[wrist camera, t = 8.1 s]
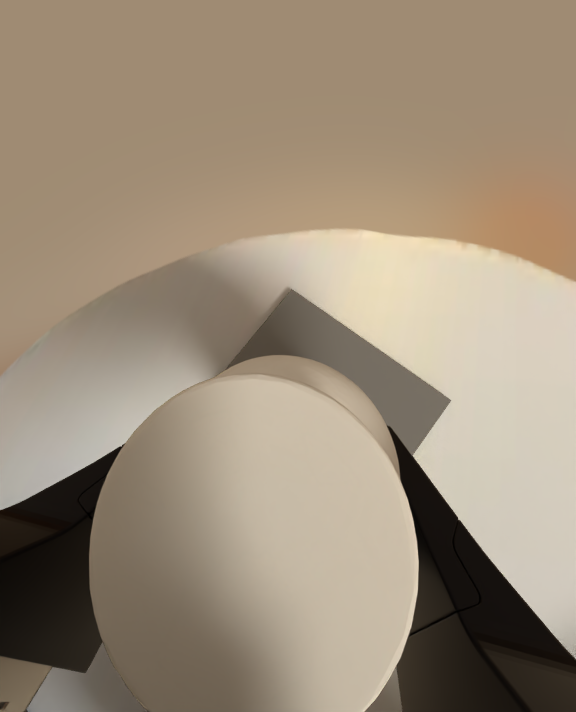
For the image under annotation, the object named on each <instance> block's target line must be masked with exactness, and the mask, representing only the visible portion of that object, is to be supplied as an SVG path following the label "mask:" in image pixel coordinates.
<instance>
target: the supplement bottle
mask: <svg viewBox="0 0 576 712" xmlns="http://www.w3.org/2000/svg"><path fill="white" fill-rule="evenodd" d="M418 569H419V560H418V549H417V539H416V533H415V528H414V522H413V517H412V513H411V510H410V506H409V502H408V499H407V496H406V494H405V491H404V489H403V486H402V483H401V480H400V470H399V462H398V458H397V454H396V449H395V446H394V443H393V440H392V437H391V435H390V432H389V430H388V428H387V425H386V423H385V422H384V420H383V418H382V416H381V414H380V413H379V411H378V410H377V408H376V407H375V406H374V404H373V403H372V401H371V400H370V399H369V398H368V396H367V395H366V394H365V393H364V392H363V391H362V390H361V389H360V388H359V387H358V386H357V385H356V384H355V383H353V382H352V381H351V380H350V379H348V378H347V377H346V376H344V375H343V374H341V373H340V372H338V371H336V370H334V369H333V368H331V367H329V366H327V365H325V364H322V363H320V362H317V361H314V360H311V359H307V358H302V357H298V356H289V355H270V356H263V357H257V358H253V359H249V360H246V361H243V362H241V363H238V364H236V365H234V366H232V367H230V368H228V369H227V370H225V371H223V372H222V373H220V374H219V375H217V376H216V377H214V378H212V379H209V380H206V381H204V382H201V383H198V384H196V385H194V386H192V387H190V388H188V389H186V390H183V391H182V392H180V393H179V394H177V395H175V396H174V397H172V398H171V399H169V400H168V401H166V402H165V403H164V404H163V405H161V406H160V407H159V408H157V409H156V410H155V411H154V412H153V413H152V414H151V415H150V416H149V417H148V418H147V419H146V420H145V421H144V422H143V423H142V424H141V425H140V426H139V427H138V428H137V429H136V430H135V431H134V433H133V434H132V435H131V436H130V438H129V439H128V441H127V442H126V443H125V445H124V446H123V448H122V449H121V450H120V452H119V454H118V456H117V457H116V459H115V461H114V463H113V465H112V467H111V469H110V471H109V472H108V474H107V477H106V480H105V482H104V485H103V487H102V489H101V492H100V495H99V498H98V502H97V506H96V510H95V514H94V518H93V524H92V530H91V536H90V551H89V578H90V593H91V598H92V604H93V609H94V615H95V618H96V622H97V625H98V629H99V632H100V636H101V639H102V641H103V643H104V646H105V648H106V651H107V653H108V656H109V658H110V660H111V662H112V664H113V666H114V668H115V669H116V670H117V672H118V673H119V674H120V676H121V678H122V679H123V681H124V682H125V684H126V686H127V687H128V688H129V690H130V691H131V692H132V694H133V695H134V696H135V698H136V699H137V700H138V701H139V703H140V704H141V705H142V706H143V707H144V708H145V709H146V710H147V711H148V712H364V711H365V710H366V709H367V708H368V707H369V706H370V705H371V704H372V703H373V702H374V701H375V699H376V698H377V697H378V695H379V694H380V692H381V691H382V689H383V687H384V686H385V684H386V683H387V681H388V680H389V678H390V676H391V674H392V672H393V671H394V669H395V667H396V665H397V663H398V662H399V660H400V658H401V655H402V652H403V649H404V646H405V644H406V641H407V638H408V635H409V632H410V629H411V626H412V621H413V615H414V610H415V604H416V598H417V592H418Z"/></svg>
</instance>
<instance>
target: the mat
mask: <svg viewBox="0 0 576 712" xmlns="http://www.w3.org/2000/svg"><path fill="white" fill-rule="evenodd" d="M270 355H289V356H298V357H302V358H307V359H311V360H314V361H317V362H320V363H322V364H325V365H327V366H329V367H331V368H333V369H334V370H336V371H338V372H340V373H341V374H343V375H344V376H346V377H347V378H348V379H350V380H351V381H352V382H353V383H355V384H356V385H357V386H358V387H359V388H360V389H361V390H362V391H363V392H364V393H365V394H366V395H367V396H368V398H369V399H370V400H371V401H372V403H373V404H374V406H375V407H376V408H377V410H378V411H379V413H380V414H381V416H382V418H383V420H384V422H385V423H386V425H388V426H390V427H391V428H392V429H393V430H394V432H395V433H396V434H397V436H398V437H399V438H400V440H401V441H402V442H403V444H404V445H405V447H406V448H407V449H408V451H409V452H410V453H411V455H413V454H414V453H415V451H416V450H417V448H418V447H419V445H420V444H421V443H422V441H423V440H424V438H425V437H426V435H427V434H428V433H429V431H430V430H431V428H432V427H433V426H434V424H435V423H436V421H437V420H438V418H439V417H440V416H441V414H442V413H443V411H444V410H445V408H446V407H447V406H448V404H449V403H450V401H451V400H450V399H449V398H447V397H446V396H444V395H443V394H441V393H440V392H438V391H437V390H436V389H434V388H433V387H431V386H430V385H428V384H427V383H426V382H424V381H423V380H421V379H420V378H418V377H417V376H416V375H414V374H413V373H411V372H410V371H408V370H407V369H405V368H404V367H403V366H401V365H400V364H398V363H397V362H395V361H394V360H393V359H391V358H390V357H388V356H387V355H385V354H384V353H383V352H381V351H380V350H378V349H377V348H375V347H374V346H372V345H371V344H370V343H368V342H367V341H365V340H364V339H362V338H361V337H360V336H358V335H357V334H355V333H354V332H352V331H351V330H350V329H348V328H347V327H345V326H344V325H342V324H341V323H339V322H338V321H337V320H335V319H334V318H332V317H331V316H329V315H328V314H327V313H325V312H324V311H322V310H321V309H319V308H318V307H317V306H315V305H314V304H312V303H311V302H309V301H308V300H306V299H305V298H304V297H302V296H301V295H299V294H298V293H296V292H295V291H294V290H291V291H290V292H289V293H288V294H287V296H286V297H285V298H284V299H283V301H282V302H281V303H280V304H279V305H278V307H277V308H276V309H275V310H274V311H273V313H272V314H271V315H270V316H269V318H268V319H267V320H266V321H265V322H264V324H263V325H262V326H261V327H260V328H259V330H258V331H257V332H256V333H255V335H254V336H253V337H252V338H251V339H250V341H249V342H248V343H247V344H246V345H245V347H244V348H243V349H242V350H241V352H240V353H239V354H238V355H237V356H236V358H235V359H234V360H233V361H232V362H231V364H230V365H229V366H228V367H227V369H228V368H230V367H232V366H234V365H236V364H238V363H241V362H243V361H246V360H249V359H253V358H257V357H263V356H270ZM227 369H226V370H227Z"/></svg>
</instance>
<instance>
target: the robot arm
mask: <svg viewBox="0 0 576 712" xmlns="http://www.w3.org/2000/svg"><path fill="white" fill-rule="evenodd" d="M387 428H388V430H389V432H390V435H391V437H392V440H393V443H394V446H395V449H396V454H397V458H398V462H399V470H400V480H401V483H402V486H403V489H404V491H405V494H406V496H407V499H408V502H409V506H410V510H411V513H412V517H413V522H414V528H415V533H416V539H417V549H418V560H419V569H418V592H417V598H416V604H415V610H414V615H413V621H412V626H411V629H410V632H409V635H408V638H407V641H406V644H405V646H404V649H403V652H402V655H401V658H400V660H399V662H398V663H397V665H396V666H397V674H398V682H399V689H400V697H401V705H402V712H576V659H575V658H574V657H573V656H572V655H571V654H570V653H569V652H568V651H567V650H566V649H565V648H564V646H563V645H562V644H561V643H560V642H559V641H558V640H557V638H556V637H555V636H554V635H553V634H552V633H551V632H550V630H549V629H548V628H547V627H546V626H545V624H544V623H543V622H542V621H541V620H540V618H539V617H538V616H537V615H536V614H535V613H534V611H533V610H532V609H531V608H530V607H529V605H528V604H527V603H526V602H525V601H524V600H523V598H522V597H521V596H520V595H519V594H518V592H517V591H516V590H515V589H514V588H513V587H512V585H511V584H510V583H509V582H508V581H507V579H506V578H505V577H504V576H503V575H502V573H501V572H500V571H499V570H498V569H497V567H496V566H495V565H494V564H493V562H492V561H491V560H490V559H489V558H488V556H487V555H486V554H485V553H484V551H483V550H482V549H481V547H480V546H479V545H478V543H477V542H476V541H475V540H474V538H473V537H472V536H471V534H470V533H469V532H468V530H467V529H466V528H465V526H464V525H463V524H462V522H461V521H460V520H458V517H457V516H456V514H455V513H454V512H453V510H452V509H451V507H450V506H449V505H448V503H447V502H446V501H445V499H444V498H443V497H442V495H441V494H440V493H439V491H438V490H437V488H436V487H435V486H434V484H433V483H432V482H431V480H430V479H429V478H428V476H427V475H426V474H425V472H424V471H423V470H422V468H421V467H420V465H419V464H418V463H417V461H416V460H415V459H414V457H413V456H412V455H411V453H410V452H409V451H408V449H407V448H406V447H405V445H404V444H403V442H402V441H401V440H400V438H399V437H398V436H397V434H396V433H395V432H394V430H393V429H392V428H391V427H390V426H388V425H387ZM124 445H125V444H123V445H122V447H121V446H120V447H118V448H117V449H115V450H114V451H112V452H110V453H109V454H107V455H105V456H104V457H102V458H100V459H99V460H97V461H95V462H94V463H92V464H90V465H88V466H87V467H85V468H83V469H81V470H79V471H78V472H76V473H74V474H72V475H70V476H69V477H67V478H65V479H63V480H61V481H59V482H57V483H56V484H54V485H52V486H50V487H48V488H46V489H44V490H43V491H41V492H39V493H37V494H35V495H33V496H31V497H30V498H28V499H26V500H24V501H22V502H20V503H17V504H15V505H13V506H11V507H8V508H5V509H3V510H0V712H25V710H26V709H27V707H28V706H29V704H30V702H31V701H32V699H33V697H34V696H35V694H36V693H37V691H38V689H39V688H40V686H41V684H42V683H43V681H44V680H45V678H46V676H47V675H48V673H49V672H50V670H51V668H52V667H56V668H61V669H66V670H71V671H76V672H81V673H86V671H87V670H88V668H89V666H90V664H91V662H92V661H93V659H94V657H95V655H96V653H97V651H98V649H99V647H100V645H101V643H102V642H103V641H102V639H101V636H100V632H99V629H98V625H97V622H96V618H95V615H94V609H93V604H92V598H91V593H90V578H89V551H90V536H91V530H92V524H93V518H94V514H95V510H96V506H97V502H98V498H99V495H100V492H101V489H102V487H103V485H104V482H105V480H106V477H107V474H108V472H109V471H110V469H111V467H112V465H113V463H114V461H115V459H116V457H117V456H118V454H119V452H120V450H121V449H122V448H123V446H124Z"/></svg>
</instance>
